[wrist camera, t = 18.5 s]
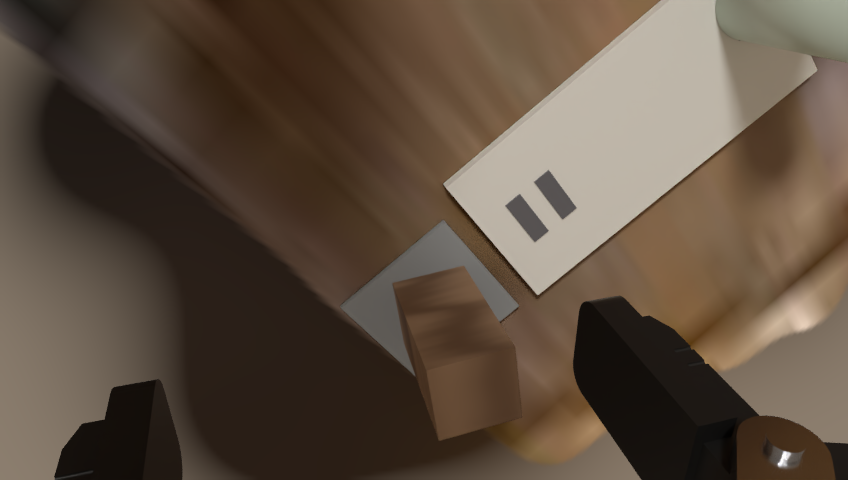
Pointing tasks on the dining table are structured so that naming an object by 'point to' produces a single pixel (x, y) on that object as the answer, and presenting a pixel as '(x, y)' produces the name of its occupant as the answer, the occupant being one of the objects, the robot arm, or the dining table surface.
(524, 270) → the board
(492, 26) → the dining table surface
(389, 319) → the grey mat
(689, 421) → the robot arm
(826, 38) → the sage cylinder
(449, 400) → the walnut block
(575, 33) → the dining table surface
